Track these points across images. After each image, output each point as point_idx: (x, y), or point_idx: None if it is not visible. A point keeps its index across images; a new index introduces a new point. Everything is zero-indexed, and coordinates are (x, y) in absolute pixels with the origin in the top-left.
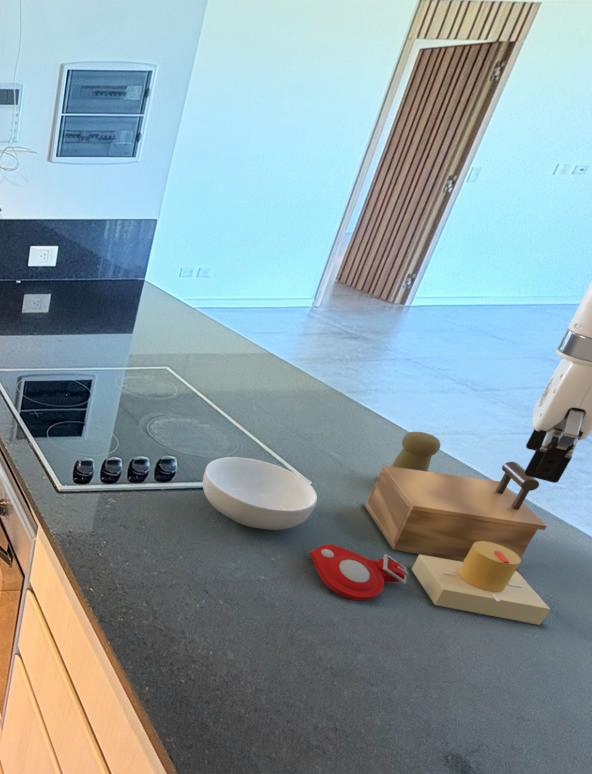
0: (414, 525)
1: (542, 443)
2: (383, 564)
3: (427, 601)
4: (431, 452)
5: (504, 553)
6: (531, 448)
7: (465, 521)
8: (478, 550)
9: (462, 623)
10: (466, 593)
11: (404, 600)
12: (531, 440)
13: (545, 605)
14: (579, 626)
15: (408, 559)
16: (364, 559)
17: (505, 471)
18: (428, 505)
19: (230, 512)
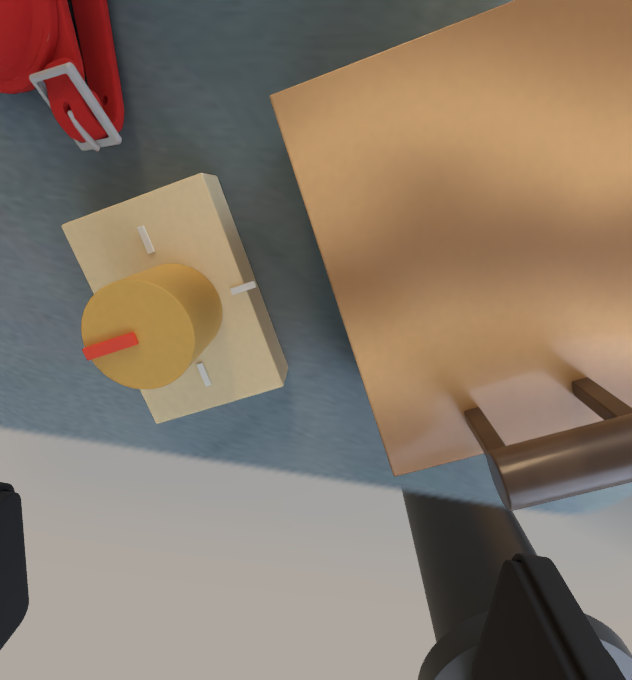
0: None
1: (512, 671)
2: (43, 70)
3: (95, 207)
4: None
5: (147, 355)
6: (500, 578)
7: None
8: (109, 291)
9: (63, 271)
10: (84, 274)
11: (57, 158)
12: (532, 620)
13: (162, 417)
14: (223, 461)
15: (266, 169)
16: (40, 15)
17: (624, 416)
18: (308, 150)
19: None
